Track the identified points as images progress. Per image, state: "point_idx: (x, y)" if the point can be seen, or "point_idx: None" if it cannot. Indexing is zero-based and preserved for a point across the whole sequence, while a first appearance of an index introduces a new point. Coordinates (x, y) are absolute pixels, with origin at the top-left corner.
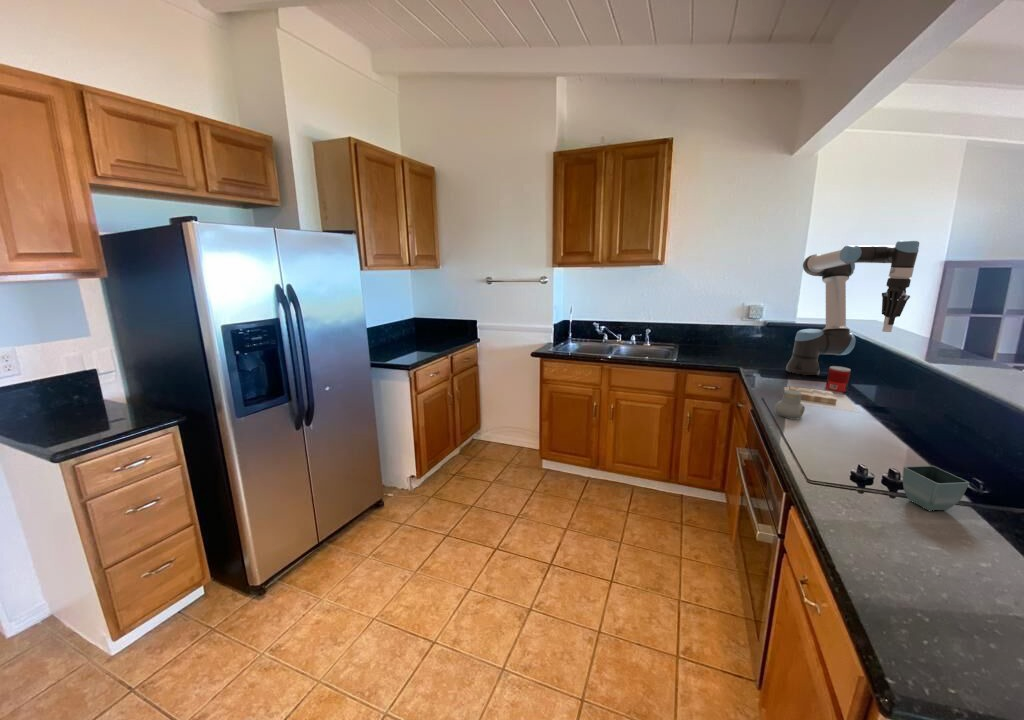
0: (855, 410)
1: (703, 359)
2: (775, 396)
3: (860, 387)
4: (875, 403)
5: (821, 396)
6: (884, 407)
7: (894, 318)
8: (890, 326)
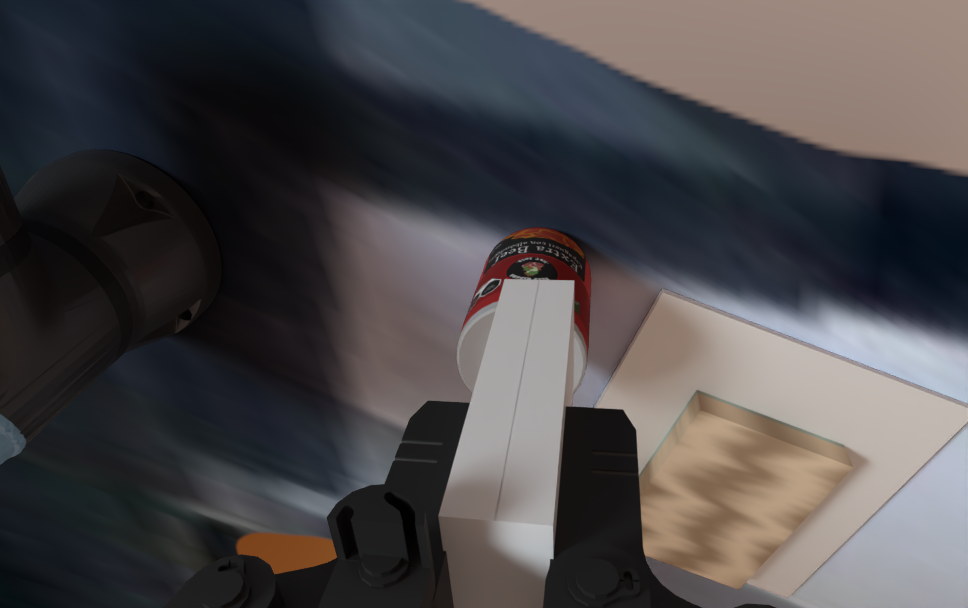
0: (947, 408)
1: (98, 582)
2: (684, 588)
3: (417, 46)
4: (802, 190)
5: (796, 505)
6: (887, 186)
7: (646, 564)
8: (569, 384)
